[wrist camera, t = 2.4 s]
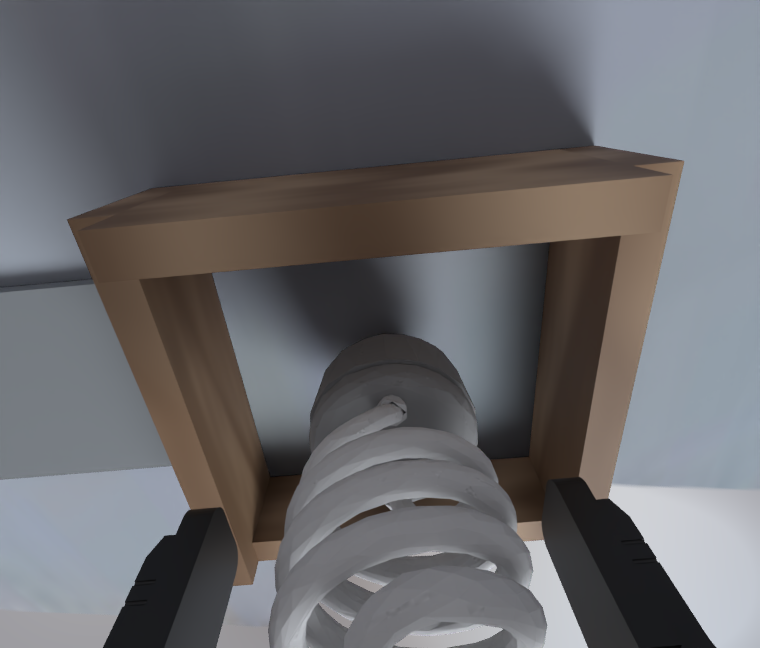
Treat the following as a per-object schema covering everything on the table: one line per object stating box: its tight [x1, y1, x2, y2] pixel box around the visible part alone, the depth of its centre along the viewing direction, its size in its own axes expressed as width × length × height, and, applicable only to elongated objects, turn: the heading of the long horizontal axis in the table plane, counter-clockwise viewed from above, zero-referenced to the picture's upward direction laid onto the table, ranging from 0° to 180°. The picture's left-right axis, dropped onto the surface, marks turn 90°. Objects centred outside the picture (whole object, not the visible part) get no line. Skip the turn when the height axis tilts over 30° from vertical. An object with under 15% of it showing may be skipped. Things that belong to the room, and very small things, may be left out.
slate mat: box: [0, 279, 172, 480], centre depth 18 cm, size 9×9×1 cm
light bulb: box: [268, 334, 547, 648], centre depth 12 cm, size 6×6×12 cm
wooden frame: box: [67, 146, 684, 586], centre depth 15 cm, size 15×15×6 cm
